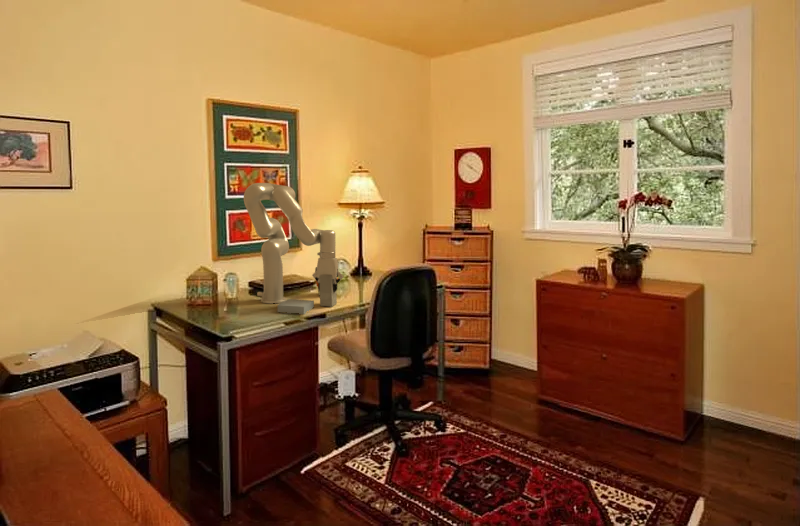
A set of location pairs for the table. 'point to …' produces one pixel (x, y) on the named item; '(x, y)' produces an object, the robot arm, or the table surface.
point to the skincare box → (327, 291)
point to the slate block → (296, 306)
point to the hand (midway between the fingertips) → (327, 290)
